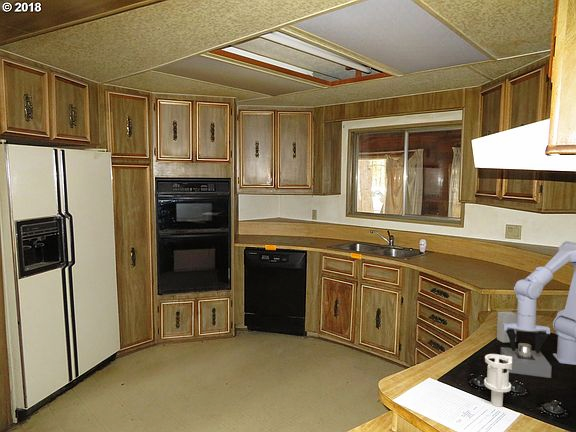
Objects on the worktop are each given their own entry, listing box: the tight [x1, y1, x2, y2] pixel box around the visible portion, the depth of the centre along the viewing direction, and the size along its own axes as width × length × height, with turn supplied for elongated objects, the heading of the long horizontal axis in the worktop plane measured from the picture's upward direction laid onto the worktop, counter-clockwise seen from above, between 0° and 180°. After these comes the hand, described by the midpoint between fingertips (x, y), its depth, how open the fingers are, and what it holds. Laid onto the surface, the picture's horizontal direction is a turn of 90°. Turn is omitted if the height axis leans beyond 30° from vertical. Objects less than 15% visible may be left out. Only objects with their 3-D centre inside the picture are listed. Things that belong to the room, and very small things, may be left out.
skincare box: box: [496, 310, 517, 343], centre depth 166 cm, size 6×4×12 cm
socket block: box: [500, 346, 552, 379], centre depth 142 cm, size 13×13×4 cm
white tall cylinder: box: [483, 353, 512, 408], centre depth 117 cm, size 7×7×15 cm
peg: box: [517, 342, 532, 360], centre depth 142 cm, size 4×4×7 cm
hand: (525, 351), depth 142 cm, fingers open, 7 cm apart
